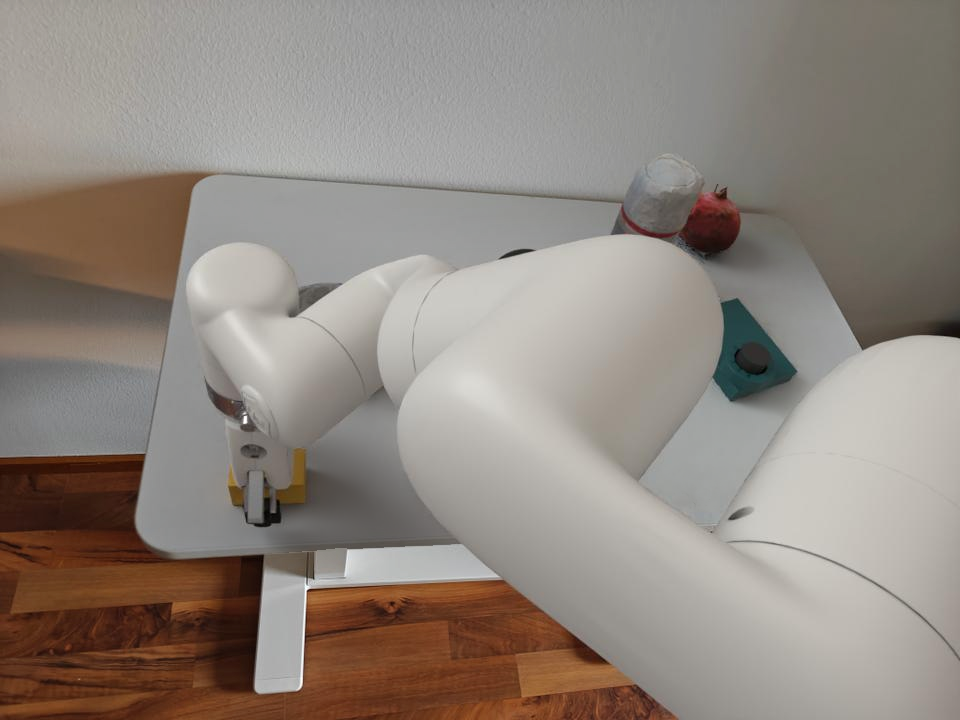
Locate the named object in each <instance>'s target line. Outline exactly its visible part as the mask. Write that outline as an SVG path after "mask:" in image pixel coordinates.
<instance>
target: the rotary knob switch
mask: <svg viewBox="0 0 960 720" xmlns="http://www.w3.org/2000/svg"><path fill="white" fill-rule="evenodd" d="M720 303H721V308H722V312H723V321H724V332H723V341H722V350H721V354H720V357H719V360H718V364H717V367H716V370H715V373H714V375H713V377H712V379H713V380H714V382H715V383H716V385H717V386H718V387H719V388H720V390H721V391H722V393H723V394H724V395H725V396H726V398H727V399H728V401H729V402H732V401H735V400H738V399H741V398H744V397H747V396H750V395H753V394H755V393H759V392H761V391H764V390H768V389H771V388H773V387H775V386H779V385H782V384H784V383H785V384H786V383H788V382H790V381H791V380H792V379H793V378H794V376H795V375H796V374H797V373H798V370H797V368H796V367H795V366H794V365H793V364H792V362H791V361H790V360H789V359H788V357H787V356H786V355H785V354H784V352H783V351H782V350H781V349H780V347H778V345H777V344H776V343H775V341H774V340H773V339H772V338H771V337H770V335H769V334H768V333H767V332H766V331H765V329H764V328H763V327H762V326H761V324H760V323H759V322H758V320H756V318H755V317H754V316H753V315H752V313H751V312H750V311H749V310H748V308H747V307H746V306H745V305H744V303H742V301H741V300H740V299H739V298H738V297H735V298H733V299H732V298H731V299H728V300H724V301H722V302H721V301H720ZM748 342H757V343H759V344H761V345H763V346H764V347H766V348H767V349H768V351H769V352H770V355H771V360H770V362H769V363H768V365H767V366H766V367H765V369H764V370H763V371H762V372H761V373H760V374H757V375H753V374H748V373H747V372H745V371H743V370H742V369H740V368H739V366H738V365H737V363H736V355H737V354H738V352H739V351H740V350H741V348H742V347H743V345H744V344H746V343H748Z"/></svg>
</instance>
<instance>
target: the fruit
mask: <svg viewBox="0 0 960 720" xmlns="http://www.w3.org/2000/svg"><path fill="white" fill-rule="evenodd" d="M718 186H719V184H718V183H717V184H716V185H715V187H714V189H713V191H701V193H700V195H699V197H698V200H697V202H696V204H695V206H694V207H693V208H692V209H691V211H690V213H689V215H688V218H687V222H686V224H685V225H684V227H683V228H682V229H681V230H680V233H679V235H678V237H679V238H680V239H681V240H682V241H684V242H685V243H686V244H687V245H688V246H689V247H691V248H692V249H694V250H696V251H697V252H698V253H699V254H700V255H701V256H702V257H703V258H704V259H706V258H707V256H708V255H709V254H719V253H723V252H724V251H727V250H728V249H730V248H731V247H732V246H733V245H734V244H735V242H736V241H737V239H738V236H739V234H740V231H741V226H742V225H741V224H742V220H741V219H742V218H741V215H740V209H739V207H738V205H737V204H736V203H735V202H734V201H732V200H731V199H730V198H728V188H729V187H728V186H726V187H724V188H721V189H720V190H718V191H717V189H718Z"/></svg>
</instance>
